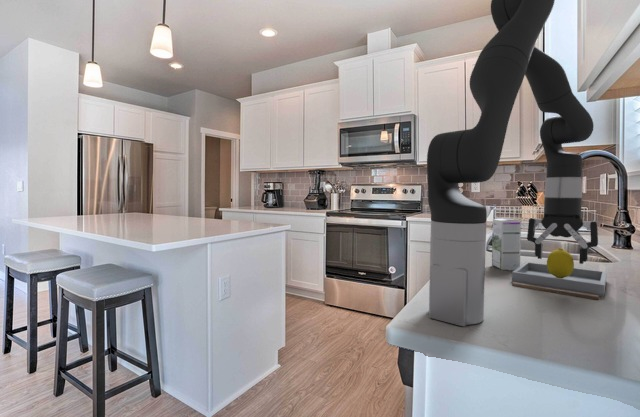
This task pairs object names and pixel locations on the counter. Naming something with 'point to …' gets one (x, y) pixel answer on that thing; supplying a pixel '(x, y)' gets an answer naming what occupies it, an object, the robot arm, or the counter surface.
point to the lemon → (560, 263)
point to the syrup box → (506, 243)
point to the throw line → (556, 290)
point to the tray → (575, 281)
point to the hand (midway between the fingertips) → (560, 260)
